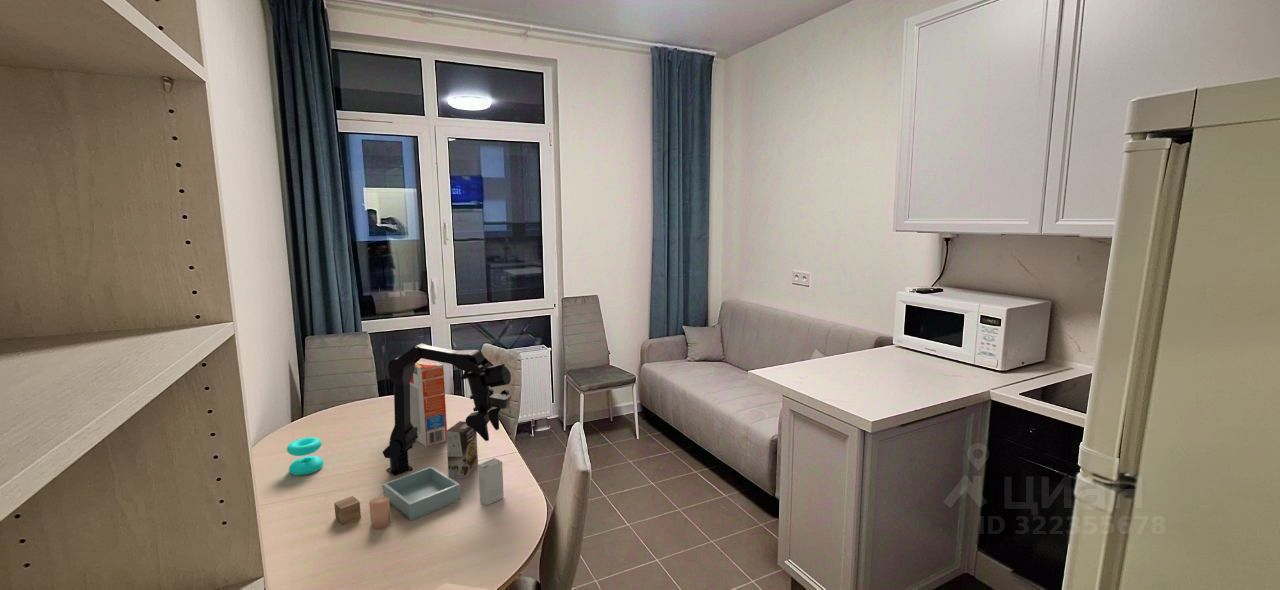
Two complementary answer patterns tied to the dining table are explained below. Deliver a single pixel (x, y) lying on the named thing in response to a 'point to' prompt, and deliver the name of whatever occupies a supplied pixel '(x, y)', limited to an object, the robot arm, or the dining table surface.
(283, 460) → the dining table surface
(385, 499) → the terracotta cylinder
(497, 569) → the dining table surface
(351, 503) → the walnut cube
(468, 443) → the coffee box
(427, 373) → the pasta box
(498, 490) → the skincare box
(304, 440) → the donuts
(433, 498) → the tote
